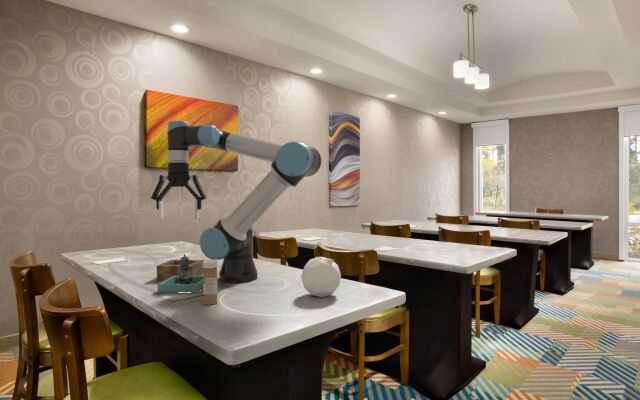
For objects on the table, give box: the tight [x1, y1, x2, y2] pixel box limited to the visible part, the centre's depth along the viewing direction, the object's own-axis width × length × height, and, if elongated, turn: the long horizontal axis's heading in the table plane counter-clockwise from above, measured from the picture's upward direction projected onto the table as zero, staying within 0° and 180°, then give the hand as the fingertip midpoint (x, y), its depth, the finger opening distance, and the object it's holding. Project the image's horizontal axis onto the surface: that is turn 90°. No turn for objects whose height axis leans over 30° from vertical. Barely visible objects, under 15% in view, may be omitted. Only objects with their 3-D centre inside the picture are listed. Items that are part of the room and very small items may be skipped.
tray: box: [157, 275, 203, 294], centre depth 148 cm, size 14×14×3 cm
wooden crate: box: [156, 259, 205, 282], centre depth 166 cm, size 14×14×6 cm
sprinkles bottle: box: [202, 259, 219, 306], centre depth 128 cm, size 5×5×13 cm
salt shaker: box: [177, 254, 193, 284], centre depth 147 cm, size 6×6×12 cm
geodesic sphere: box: [300, 256, 342, 298], centre depth 137 cm, size 14×14×14 cm
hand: (179, 218), depth 155 cm, fingers open, 13 cm apart
